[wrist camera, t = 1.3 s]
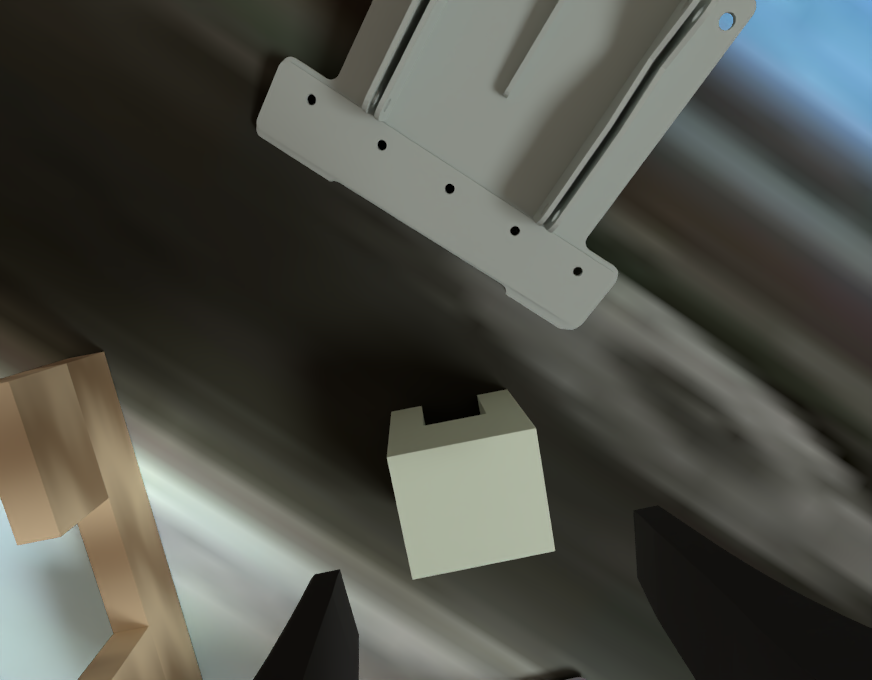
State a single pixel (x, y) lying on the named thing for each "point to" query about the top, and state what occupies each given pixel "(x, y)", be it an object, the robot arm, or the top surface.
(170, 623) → the notched rail
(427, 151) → the metal bracket
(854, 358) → the top surface
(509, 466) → the slotted block
